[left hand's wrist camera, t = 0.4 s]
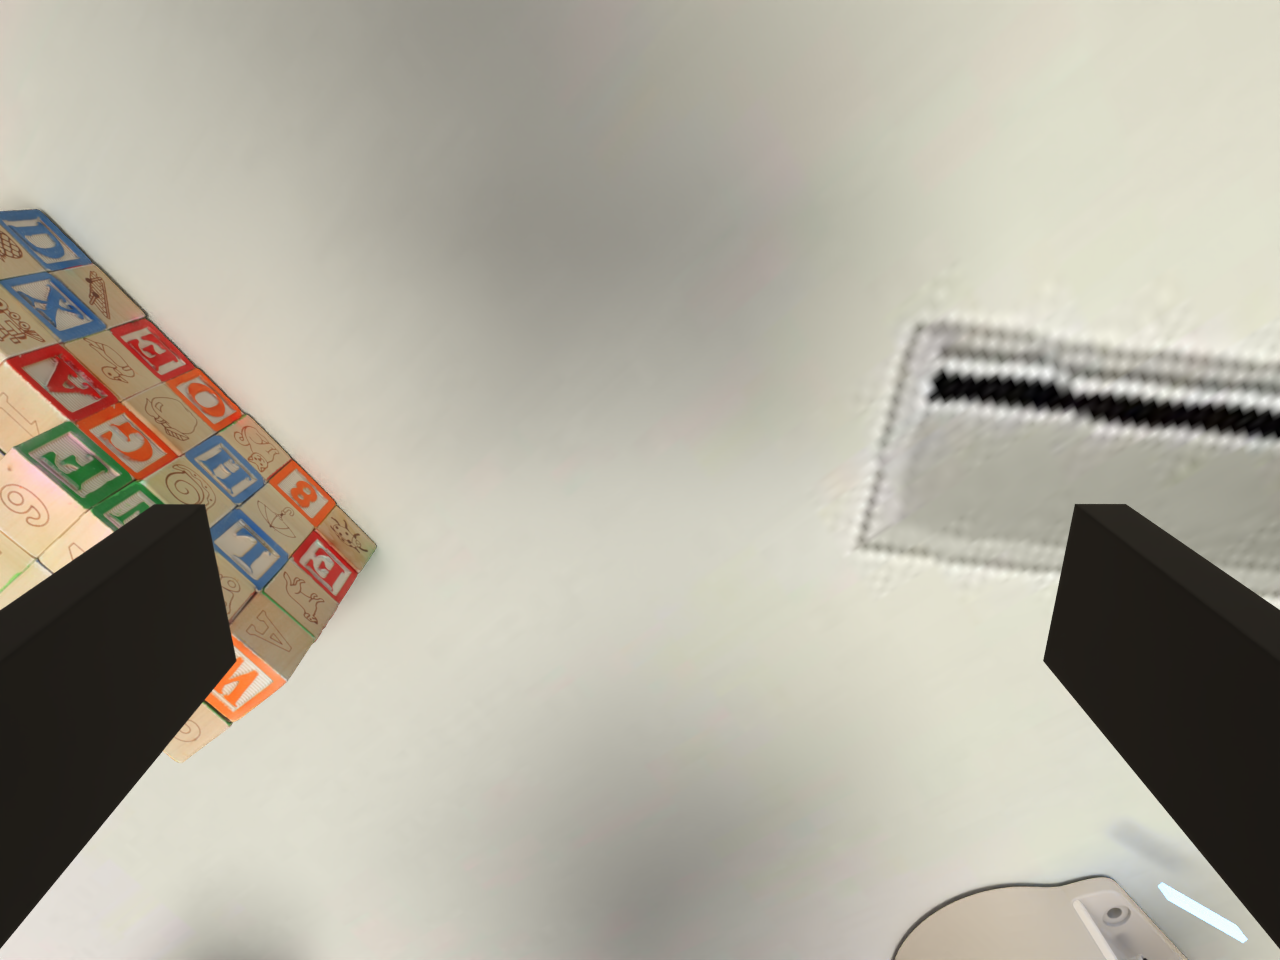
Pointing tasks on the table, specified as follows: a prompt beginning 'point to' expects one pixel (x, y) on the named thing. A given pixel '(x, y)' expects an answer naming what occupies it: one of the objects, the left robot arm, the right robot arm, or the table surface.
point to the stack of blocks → (152, 466)
